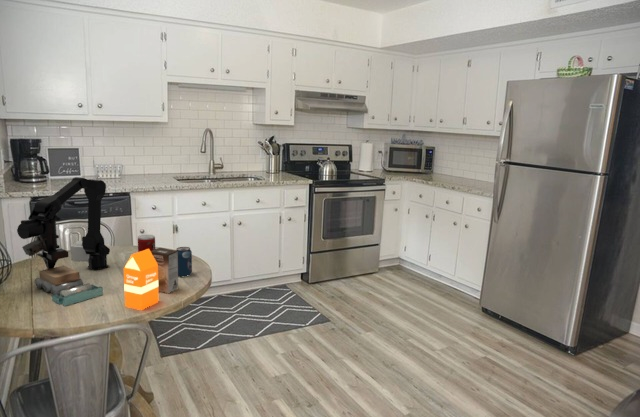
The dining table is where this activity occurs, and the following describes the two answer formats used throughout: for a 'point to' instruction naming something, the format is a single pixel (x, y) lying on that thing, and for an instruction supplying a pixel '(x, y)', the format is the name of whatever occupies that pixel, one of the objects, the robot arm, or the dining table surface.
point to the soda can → (184, 261)
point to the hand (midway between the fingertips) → (50, 271)
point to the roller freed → (75, 290)
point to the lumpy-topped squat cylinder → (78, 252)
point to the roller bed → (71, 298)
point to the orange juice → (141, 280)
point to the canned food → (146, 242)
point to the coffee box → (166, 269)
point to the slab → (59, 275)
